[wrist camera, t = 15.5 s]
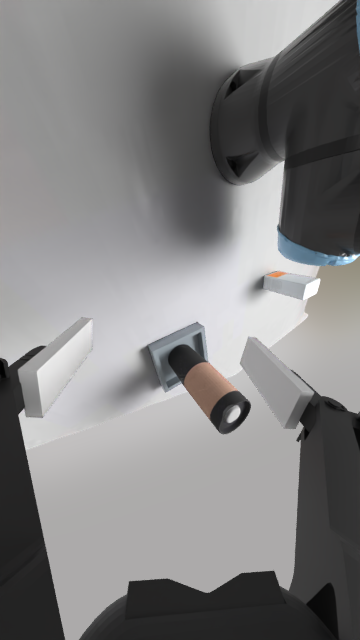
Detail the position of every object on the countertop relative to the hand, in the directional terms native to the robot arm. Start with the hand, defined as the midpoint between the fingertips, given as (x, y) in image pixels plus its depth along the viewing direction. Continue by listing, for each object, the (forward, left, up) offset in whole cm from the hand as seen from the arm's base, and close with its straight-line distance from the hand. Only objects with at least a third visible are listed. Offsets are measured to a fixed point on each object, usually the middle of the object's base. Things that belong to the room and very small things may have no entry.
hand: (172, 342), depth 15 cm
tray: (-9, +23, -23) cm, 33 cm away
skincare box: (-43, +13, -23) cm, 50 cm away
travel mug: (-9, +23, -22) cm, 33 cm away
